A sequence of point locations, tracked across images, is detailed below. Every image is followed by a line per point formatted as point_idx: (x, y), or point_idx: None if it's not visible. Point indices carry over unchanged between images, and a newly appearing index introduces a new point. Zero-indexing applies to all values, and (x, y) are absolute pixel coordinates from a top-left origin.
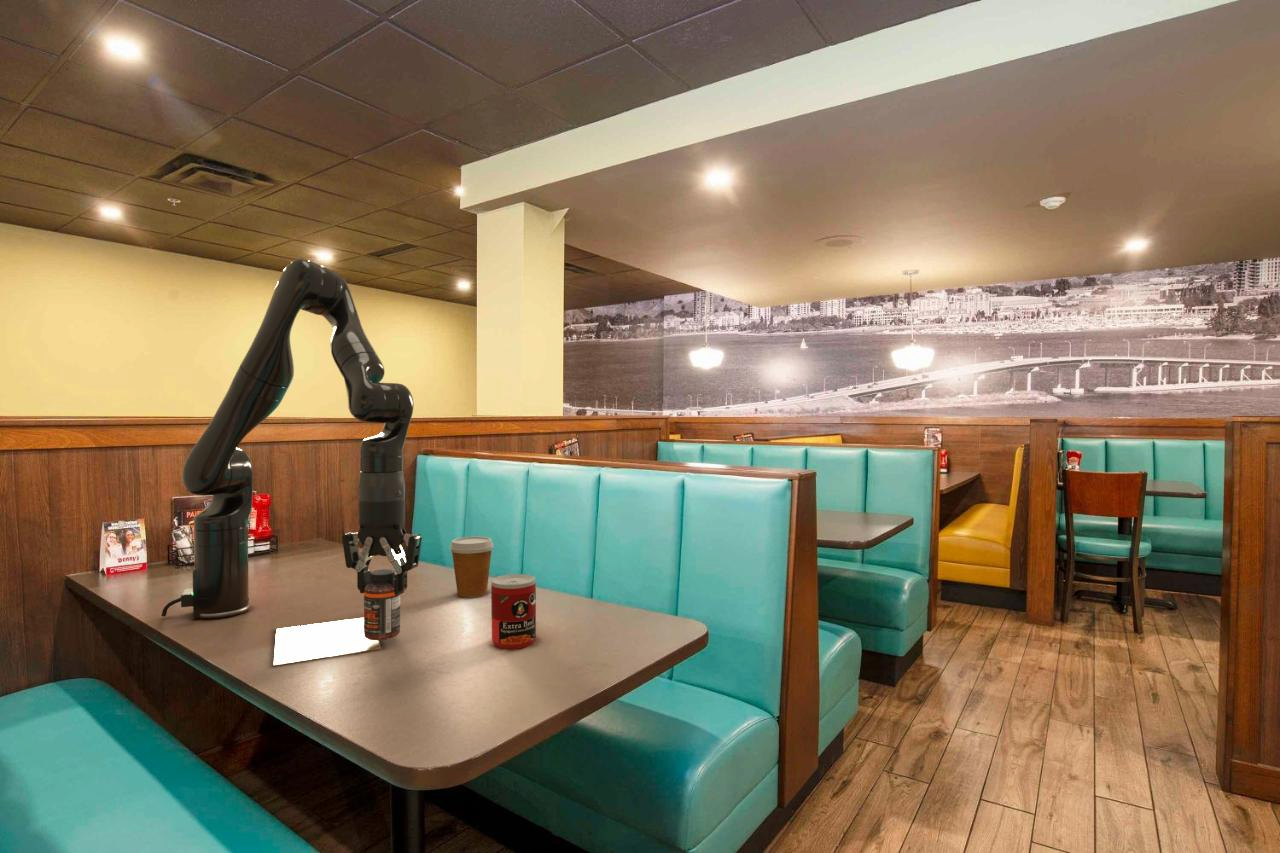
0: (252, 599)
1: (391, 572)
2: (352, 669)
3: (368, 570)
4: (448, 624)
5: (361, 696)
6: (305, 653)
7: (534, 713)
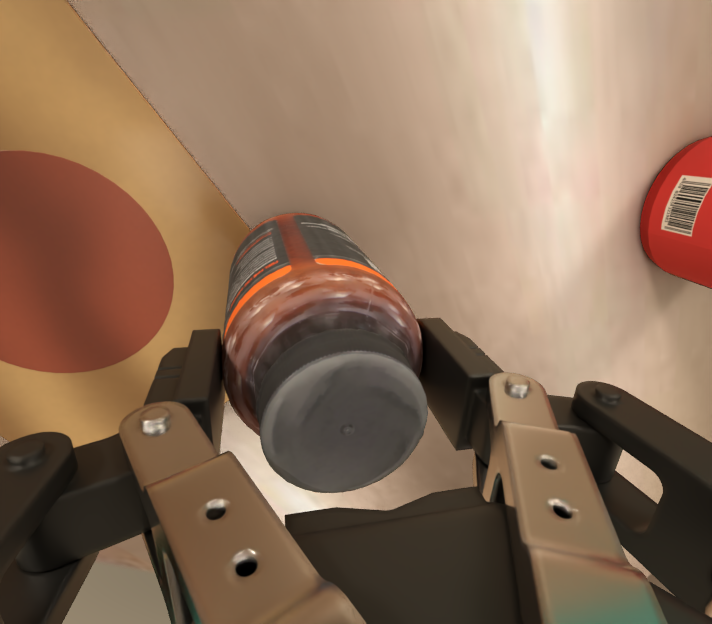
0: None
1: (421, 427)
2: None
3: (205, 415)
4: (462, 15)
5: None
6: (110, 412)
7: None
